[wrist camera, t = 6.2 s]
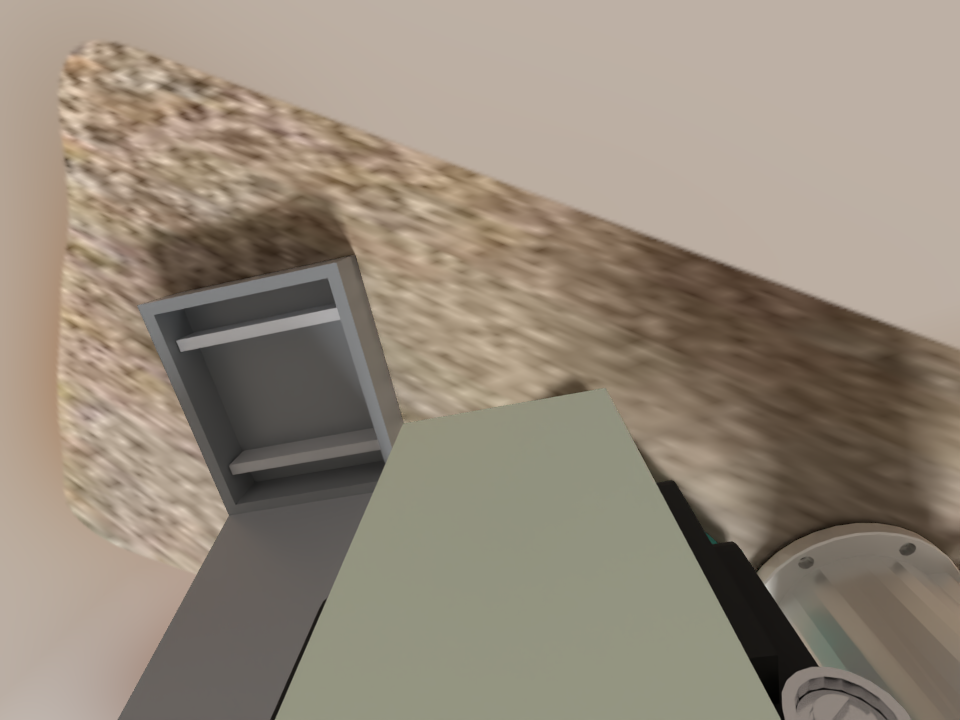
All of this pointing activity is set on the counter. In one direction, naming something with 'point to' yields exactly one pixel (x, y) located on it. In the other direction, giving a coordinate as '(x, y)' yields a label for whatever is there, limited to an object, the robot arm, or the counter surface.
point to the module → (522, 584)
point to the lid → (247, 614)
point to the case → (281, 383)
